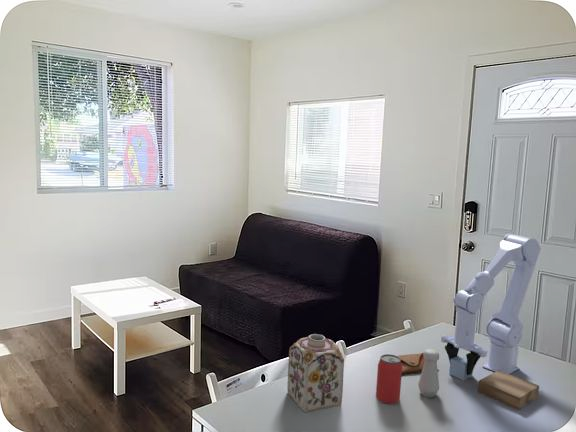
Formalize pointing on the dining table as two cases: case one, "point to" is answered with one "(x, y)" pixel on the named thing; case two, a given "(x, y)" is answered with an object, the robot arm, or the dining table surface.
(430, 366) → the salt shaker
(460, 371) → the blue cube
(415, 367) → the sunglasses case
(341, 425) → the dining table surface
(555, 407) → the dining table surface
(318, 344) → the decorative jar
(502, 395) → the wooden block
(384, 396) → the beer can
